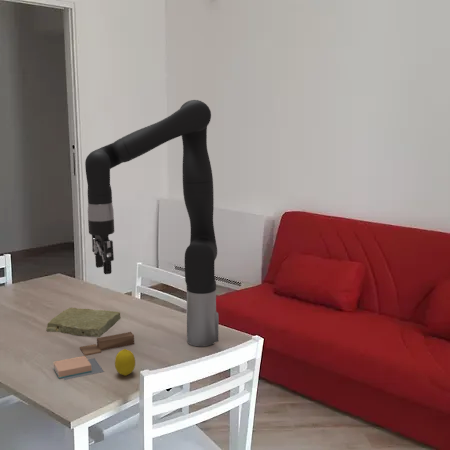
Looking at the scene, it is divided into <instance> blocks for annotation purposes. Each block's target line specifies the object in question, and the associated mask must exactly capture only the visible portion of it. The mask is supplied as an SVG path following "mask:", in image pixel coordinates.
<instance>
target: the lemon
mask: <svg viewBox="0 0 450 450" xmlns="http://www.w3.org/2000/svg"><path fill="white" fill-rule="evenodd" d="M114 367H115V371H116V372H117V373H118V374H120V375H123V376H124V377H127V376H128V375H130V374H131V373H133V372H134V370H135V367H136V359H135V355H134V353H133V352H132V351H131V350H129V349H126V348H123V349H122V350H120V351H119V352H117V354H116V356H115V359H114Z"/></svg>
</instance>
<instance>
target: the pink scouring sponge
mask: <svg viewBox="0 0 450 450" xmlns="http://www.w3.org/2000/svg"><path fill="white" fill-rule="evenodd" d="M88 359H89V358H87V357H86V356H85V355H82V356H77V357H72V358H71V357H70V358H65V359H60V360H56V361H55V360H54V361H53V370H54V372H55V374H56V375H57V377H58V379H62V378H63V379H64V377H69V376H73V375H78V374H83V373H88V372H92V368H91V364H90V362H89V361H88Z"/></svg>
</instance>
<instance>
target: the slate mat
mask: <svg viewBox="0 0 450 450" xmlns="http://www.w3.org/2000/svg"><path fill="white" fill-rule="evenodd" d="M87 359H88V361H89V362H90V364H91V368H92V372H88V373H83V374H78V375H73V376H69V377H64V378H63V380H64V381H67V380H72V379H76V378H81V377H85V376H90V375H95V374H99V373H104V372H105V371H104V369H103V368H102V366H101V365H100V364H99V362H98V361H97V359H96V358H95V357H93V358H87Z"/></svg>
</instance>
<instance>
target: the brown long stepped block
mask: <svg viewBox="0 0 450 450" xmlns="http://www.w3.org/2000/svg"><path fill="white" fill-rule="evenodd" d="M130 345H132V346H133V345H135V334H133V333H132V332H131V331H128V332H123V333H118V334H112V335H107V336H100V337H96V343H95V344H94V343H93V344H89V345H83V346H79V350H80V351H81V352H82V354H83V356H91V355H96V354H101V353H102V351H106V350H110V349H116V348H122V347H127V346H130Z"/></svg>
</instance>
